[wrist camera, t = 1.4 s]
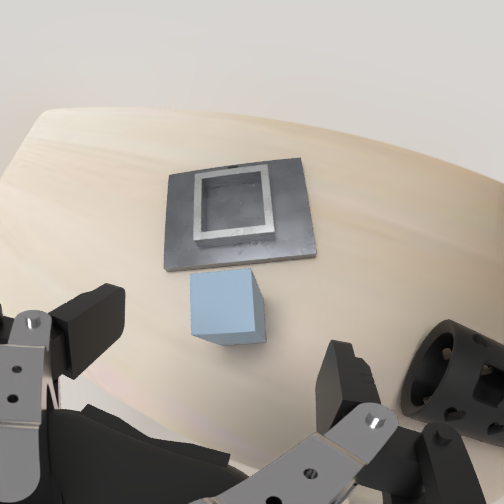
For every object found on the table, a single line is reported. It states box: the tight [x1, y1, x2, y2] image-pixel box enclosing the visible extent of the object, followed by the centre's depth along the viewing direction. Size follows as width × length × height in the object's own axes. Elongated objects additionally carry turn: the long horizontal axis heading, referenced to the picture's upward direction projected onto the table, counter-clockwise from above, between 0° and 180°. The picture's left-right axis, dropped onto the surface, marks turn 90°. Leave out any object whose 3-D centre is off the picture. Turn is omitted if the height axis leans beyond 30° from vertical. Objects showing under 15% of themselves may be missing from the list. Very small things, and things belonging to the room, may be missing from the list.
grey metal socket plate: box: [164, 158, 316, 272], centre depth 34 cm, size 16×12×3 cm
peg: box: [190, 268, 266, 345], centre depth 27 cm, size 4×4×10 cm
